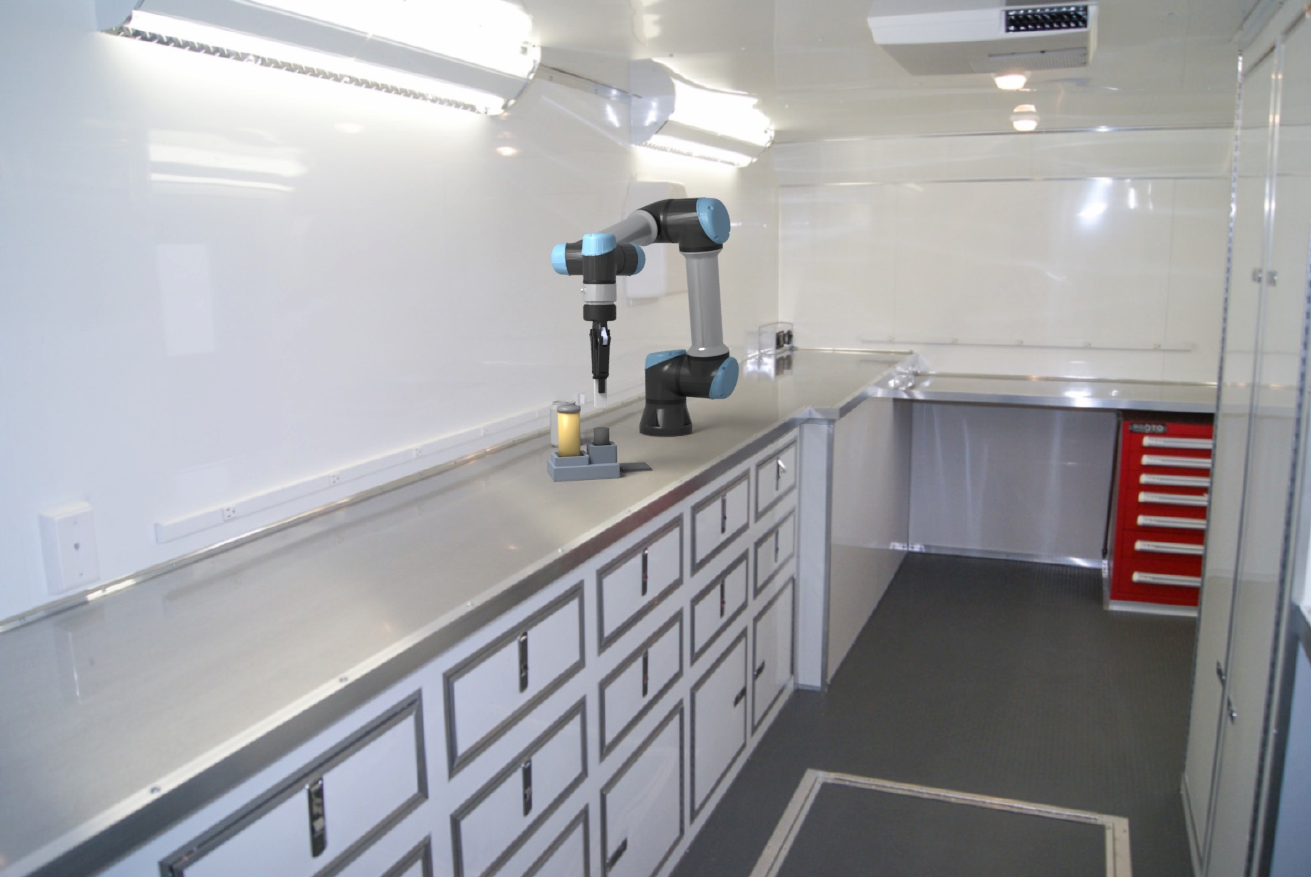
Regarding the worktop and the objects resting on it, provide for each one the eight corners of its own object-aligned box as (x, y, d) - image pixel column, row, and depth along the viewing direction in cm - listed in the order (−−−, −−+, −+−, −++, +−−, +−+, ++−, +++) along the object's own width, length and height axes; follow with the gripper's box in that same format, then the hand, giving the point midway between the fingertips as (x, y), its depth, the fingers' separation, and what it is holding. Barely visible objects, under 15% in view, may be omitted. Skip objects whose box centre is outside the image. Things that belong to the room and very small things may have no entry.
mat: (644, 464, 250) (644, 461, 250) (651, 470, 243) (651, 467, 243) (616, 465, 248) (616, 463, 248) (622, 471, 242) (622, 469, 242)
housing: (610, 467, 246) (610, 439, 245) (620, 477, 235) (619, 447, 234) (547, 471, 242) (546, 442, 241) (554, 481, 232) (553, 451, 231)
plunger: (607, 448, 241) (607, 426, 240) (610, 450, 238) (610, 429, 237) (592, 448, 240) (592, 427, 239) (595, 451, 237) (595, 430, 236)
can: (581, 443, 277) (580, 399, 275) (576, 448, 270) (575, 403, 267) (553, 443, 278) (552, 398, 275) (548, 448, 270) (546, 403, 268)
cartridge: (579, 459, 241) (578, 404, 239) (583, 464, 236) (582, 407, 233) (556, 460, 240) (555, 405, 237) (559, 465, 234) (558, 408, 232)
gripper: (578, 302, 238) (579, 403, 242) (588, 304, 226) (589, 411, 230) (610, 301, 240) (610, 402, 244) (622, 304, 227) (622, 410, 232)
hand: (600, 406), depth 237 cm, fingers closed
